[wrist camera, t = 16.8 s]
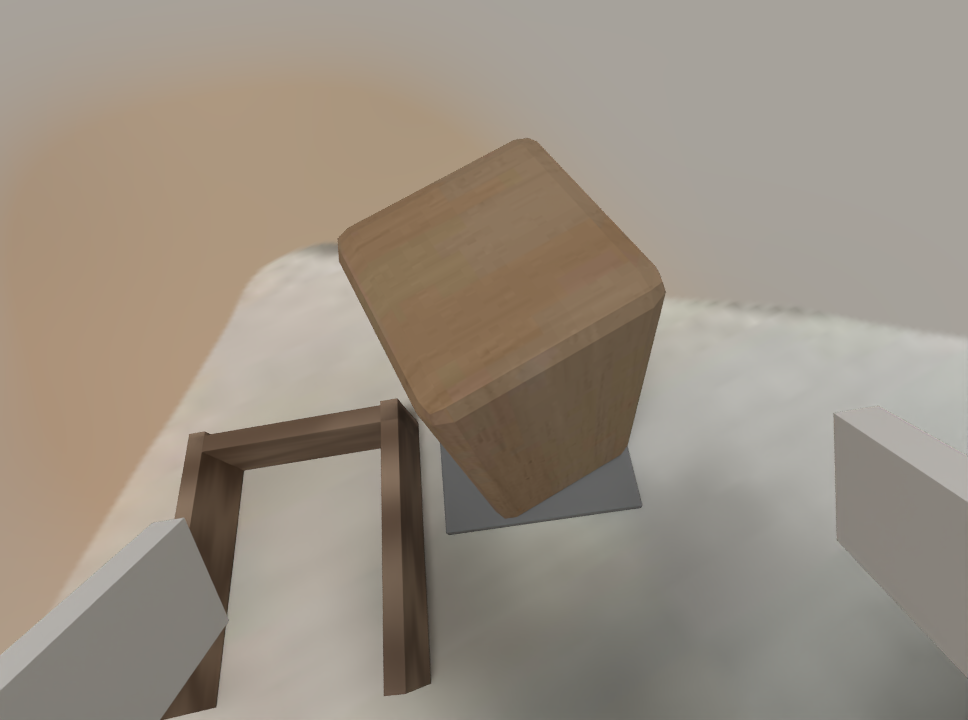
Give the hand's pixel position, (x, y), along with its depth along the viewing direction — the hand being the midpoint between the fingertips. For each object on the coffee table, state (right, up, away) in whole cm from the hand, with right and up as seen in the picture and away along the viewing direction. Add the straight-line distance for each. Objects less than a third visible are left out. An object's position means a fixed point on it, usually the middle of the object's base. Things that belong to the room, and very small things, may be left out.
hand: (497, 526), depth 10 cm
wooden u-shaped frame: (-12, -10, +26) cm, 30 cm away
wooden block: (+3, -2, +26) cm, 27 cm away
